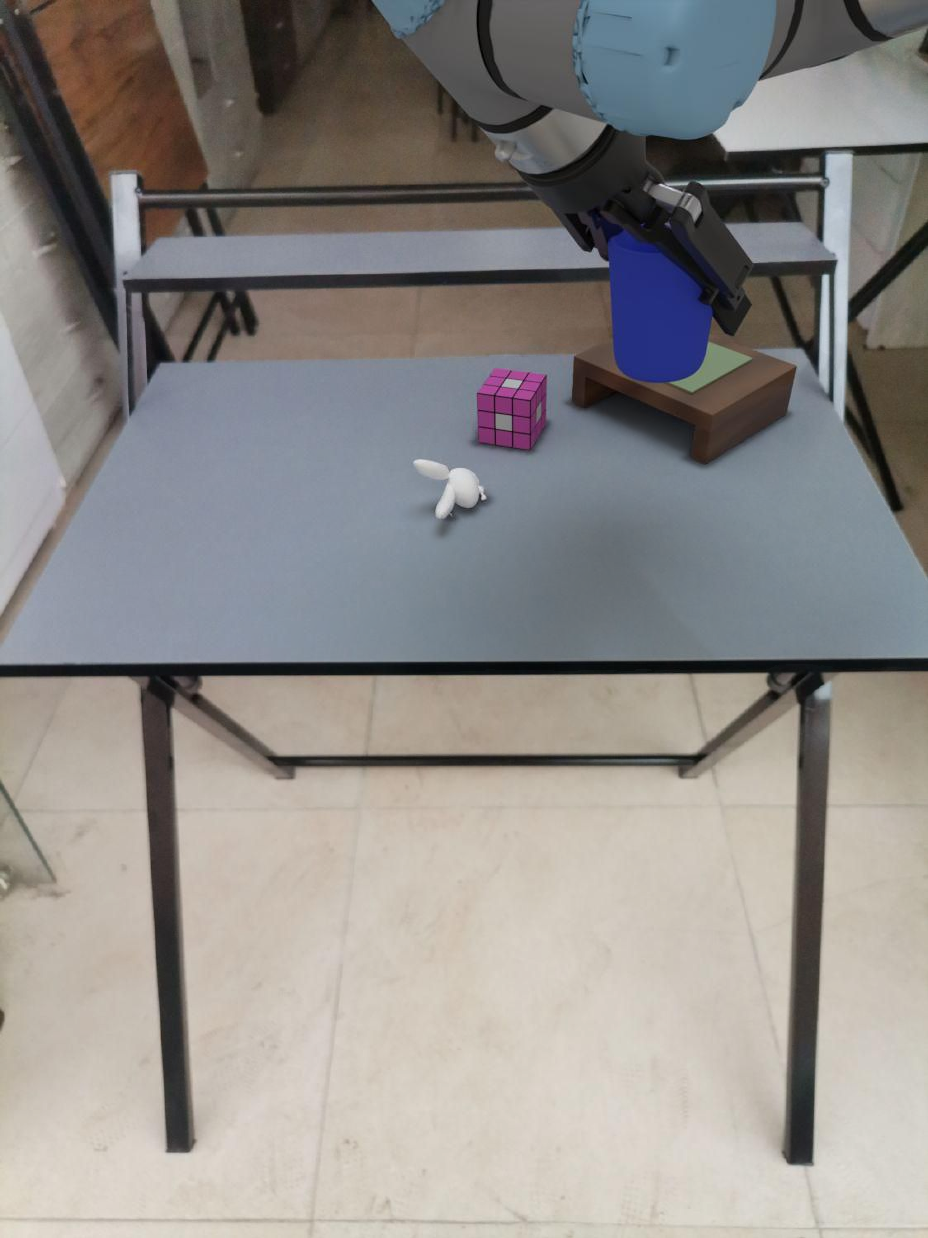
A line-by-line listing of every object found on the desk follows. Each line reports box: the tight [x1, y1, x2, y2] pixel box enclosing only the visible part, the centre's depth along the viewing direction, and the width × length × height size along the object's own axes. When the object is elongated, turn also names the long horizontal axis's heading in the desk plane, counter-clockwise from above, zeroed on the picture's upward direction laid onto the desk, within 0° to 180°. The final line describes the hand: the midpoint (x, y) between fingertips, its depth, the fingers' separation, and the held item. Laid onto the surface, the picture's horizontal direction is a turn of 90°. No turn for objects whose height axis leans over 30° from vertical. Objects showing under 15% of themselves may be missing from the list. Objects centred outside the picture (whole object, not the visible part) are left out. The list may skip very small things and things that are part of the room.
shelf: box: [571, 333, 798, 465], centre depth 97 cm, size 18×14×6 cm
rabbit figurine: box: [412, 458, 488, 520], centre depth 86 cm, size 6×4×8 cm
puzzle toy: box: [476, 367, 548, 451], centre depth 95 cm, size 6×6×6 cm
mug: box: [608, 224, 713, 383], centre depth 70 cm, size 8×12×10 cm
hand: (698, 305), depth 72 cm, fingers closed on mug, 7 cm apart
